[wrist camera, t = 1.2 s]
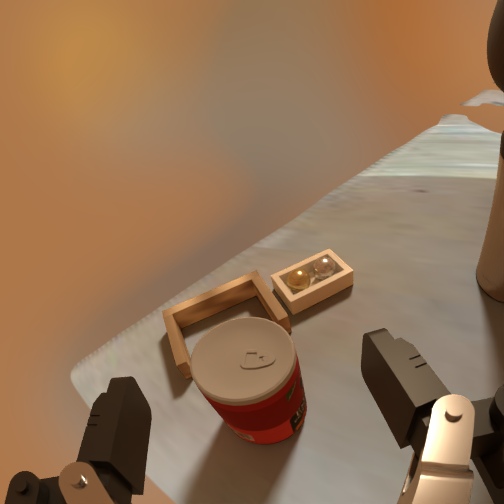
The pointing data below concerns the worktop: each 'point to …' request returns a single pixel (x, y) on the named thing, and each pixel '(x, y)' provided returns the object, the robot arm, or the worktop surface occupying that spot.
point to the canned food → (251, 378)
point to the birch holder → (214, 304)
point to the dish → (312, 282)
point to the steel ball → (324, 268)
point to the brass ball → (298, 280)
